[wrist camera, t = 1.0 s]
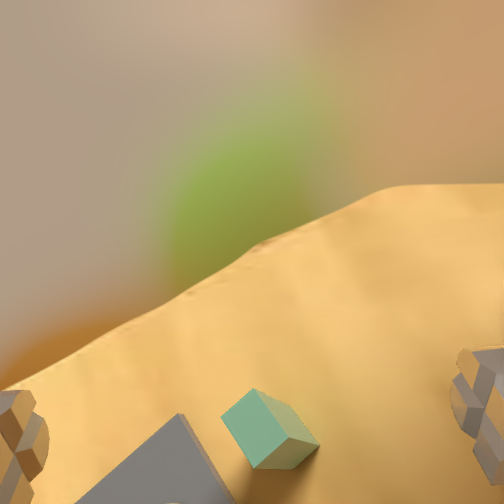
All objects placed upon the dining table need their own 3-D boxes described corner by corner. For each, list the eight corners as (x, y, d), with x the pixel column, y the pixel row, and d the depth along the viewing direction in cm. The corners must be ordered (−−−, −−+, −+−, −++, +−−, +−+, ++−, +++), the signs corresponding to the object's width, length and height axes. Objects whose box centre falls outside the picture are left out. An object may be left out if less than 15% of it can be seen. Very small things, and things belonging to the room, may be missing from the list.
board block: (290, 406, 39) (253, 388, 31) (319, 445, 37) (288, 437, 29) (264, 429, 39) (220, 416, 31) (292, 469, 37) (253, 468, 29)
